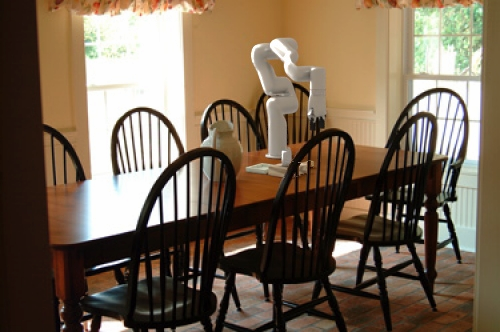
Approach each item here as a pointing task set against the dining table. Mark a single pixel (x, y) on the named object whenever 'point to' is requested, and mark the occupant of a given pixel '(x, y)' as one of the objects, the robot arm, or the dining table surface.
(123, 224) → the dining table surface
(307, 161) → the drift key
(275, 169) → the crumpled beige cloth
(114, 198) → the dining table surface
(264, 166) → the rack tray
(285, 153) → the white upright block
